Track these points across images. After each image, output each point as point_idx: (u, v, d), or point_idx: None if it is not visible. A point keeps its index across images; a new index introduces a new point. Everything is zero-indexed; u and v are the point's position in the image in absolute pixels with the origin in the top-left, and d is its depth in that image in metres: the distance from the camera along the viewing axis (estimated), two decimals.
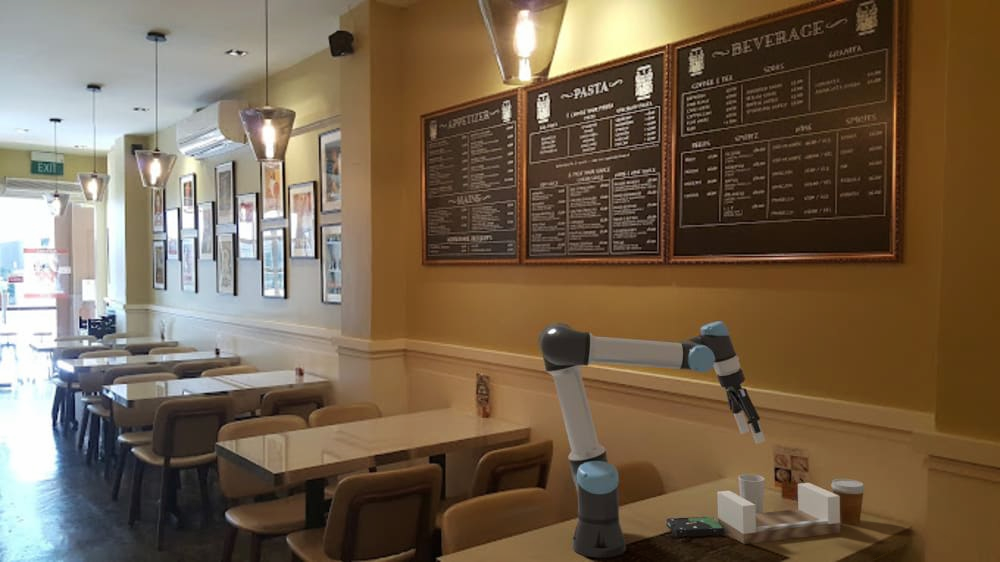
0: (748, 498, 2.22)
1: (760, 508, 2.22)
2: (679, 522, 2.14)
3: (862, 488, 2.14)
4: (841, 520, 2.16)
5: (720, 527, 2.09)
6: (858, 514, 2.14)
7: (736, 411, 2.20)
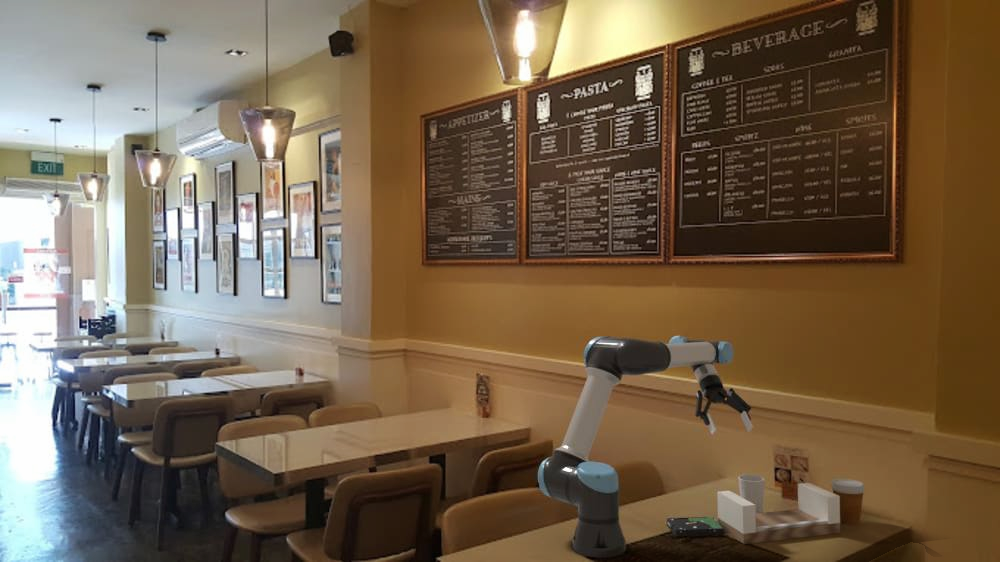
0: (748, 498, 2.22)
1: (760, 508, 2.22)
2: (679, 522, 2.14)
3: (862, 488, 2.14)
4: (841, 520, 2.16)
5: (720, 527, 2.09)
6: (858, 514, 2.14)
7: None
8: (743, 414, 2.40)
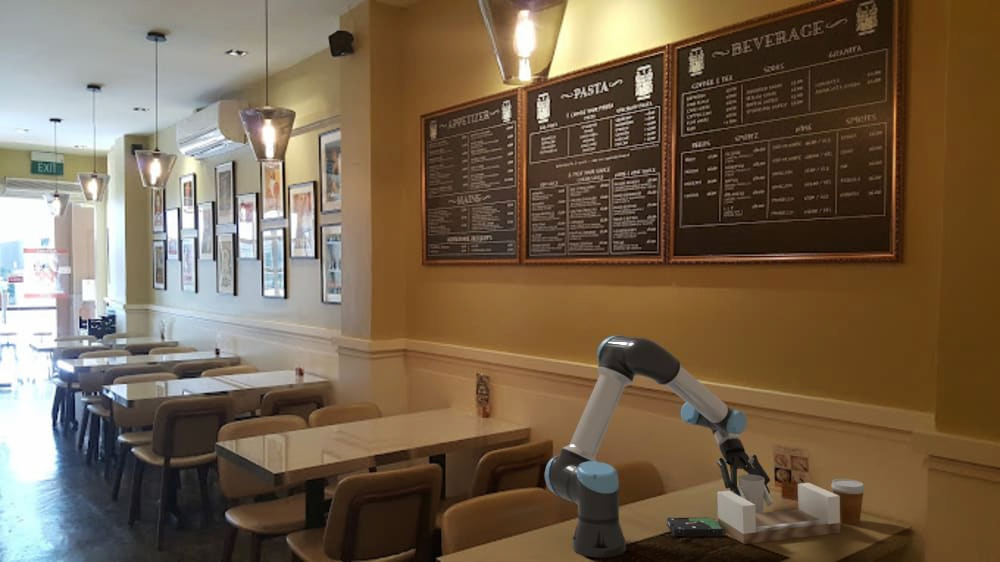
0: (748, 498, 2.22)
1: (760, 508, 2.22)
2: (679, 522, 2.14)
3: (862, 488, 2.14)
4: (841, 520, 2.16)
5: (720, 527, 2.09)
6: (858, 514, 2.14)
7: None
8: None
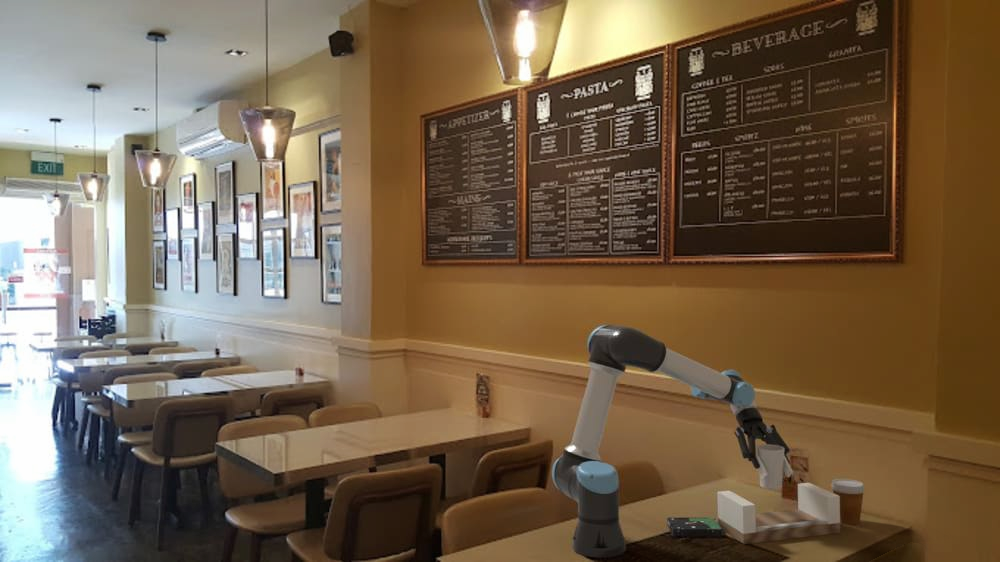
0: (767, 468, 2.13)
1: (780, 479, 2.13)
2: (679, 522, 2.14)
3: (862, 488, 2.14)
4: (841, 520, 2.16)
5: (719, 528, 2.09)
6: (858, 514, 2.14)
7: None
8: None
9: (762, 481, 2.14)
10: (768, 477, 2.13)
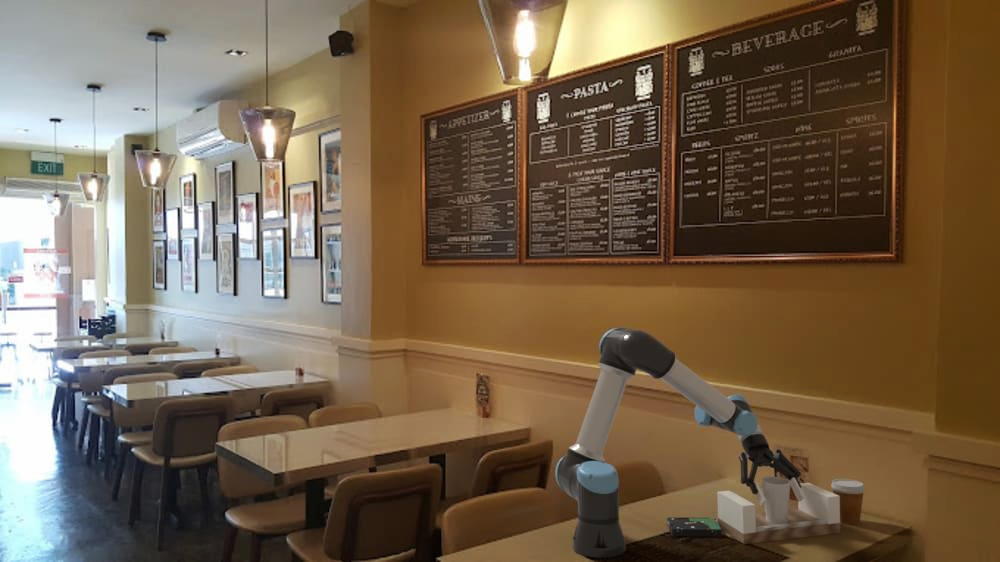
0: (773, 502, 2.09)
1: (786, 513, 2.09)
2: (678, 521, 2.14)
3: (862, 488, 2.14)
4: (841, 520, 2.16)
5: (719, 528, 2.08)
6: (858, 514, 2.14)
7: None
8: (792, 481, 2.14)
9: (768, 515, 2.11)
10: (774, 511, 2.09)
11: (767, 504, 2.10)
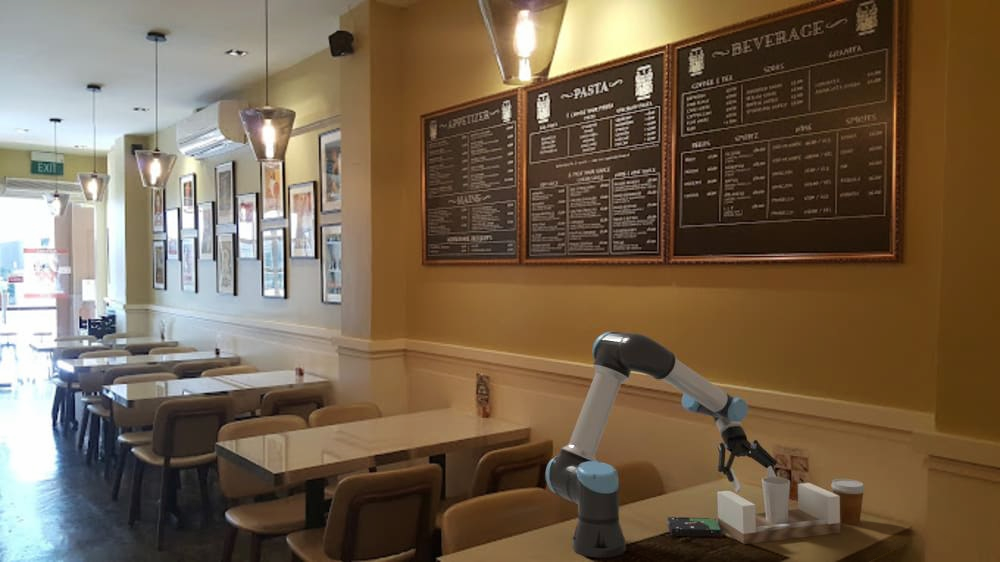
0: (773, 502, 2.09)
1: (786, 512, 2.09)
2: (678, 521, 2.15)
3: (862, 488, 2.14)
4: (841, 520, 2.16)
5: (718, 528, 2.08)
6: (858, 514, 2.14)
7: None
8: (769, 469, 2.26)
9: (768, 515, 2.11)
10: (774, 511, 2.09)
11: (767, 504, 2.10)
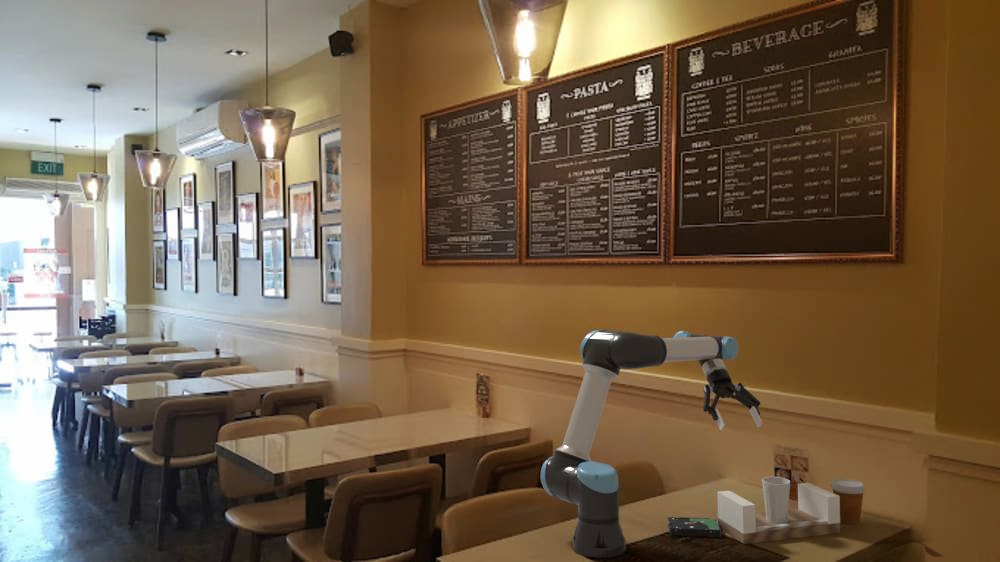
0: (773, 502, 2.09)
1: (786, 512, 2.09)
2: (678, 521, 2.15)
3: (862, 488, 2.14)
4: (841, 520, 2.16)
5: (718, 528, 2.08)
6: (858, 514, 2.14)
7: None
8: (752, 409, 2.34)
9: (768, 515, 2.10)
10: (774, 511, 2.09)
11: (767, 504, 2.10)
